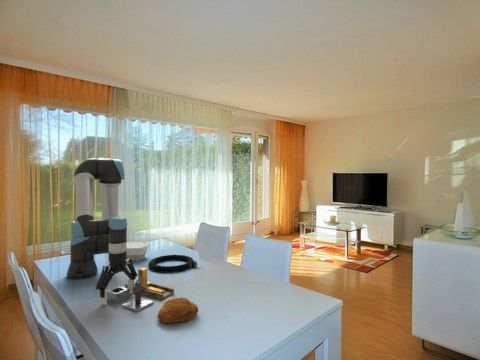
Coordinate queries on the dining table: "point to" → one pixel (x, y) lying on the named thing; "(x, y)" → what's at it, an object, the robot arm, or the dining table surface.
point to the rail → (154, 294)
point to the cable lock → (188, 265)
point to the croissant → (177, 310)
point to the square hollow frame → (117, 294)
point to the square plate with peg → (138, 300)
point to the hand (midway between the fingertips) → (117, 298)
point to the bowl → (136, 250)
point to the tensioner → (144, 284)
